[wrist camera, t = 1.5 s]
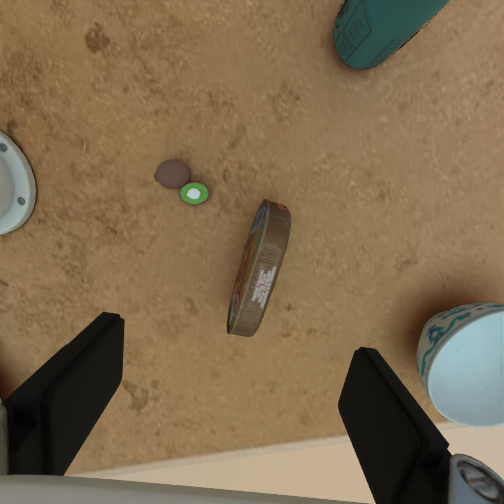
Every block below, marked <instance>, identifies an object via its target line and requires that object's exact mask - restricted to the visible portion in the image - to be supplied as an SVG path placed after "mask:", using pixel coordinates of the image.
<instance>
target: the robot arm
mask: <svg viewBox="0 0 504 504" xmlns="http://www.w3.org/2000/svg"><path fill="white" fill-rule="evenodd" d="M35 200H36V186H35V179H34V176H33V173H32V170H31V167H30V165H29V163H28V161H27V159H26V157H25V156H24V154H23V153H22V152H21V150H20V149H19V147H18V146H17V145H16V144H15V143H14V142H13V141H12V140H11V139H10V138H9V137H8V136H6V135H5V134H4V133H3V132H1V131H0V235H3V234H6V233H9V232H12V231H14V230H16V229H17V228H19V227H20V226H22V225H23V224H24V223H25V222H26V220H27V219H28V218H29V216H30V214H31V213H32V211H33V208H34V204H35ZM123 347H124V319H123V318H120V315H119V314H115V313H108V312H103V313H101V314H100V315H99V316H98V317H97V318H96V319H95V320H94V321H93V322H91V323H90V324H89V325H88V326H87V327H86V328H85V329H84V330H83V331H82V332H81V333H79V334H78V335H77V336H76V337H75V338H74V339H73V340H72V341H71V342H70V343H69V344H67V345H65V346H64V347H63V348H61V349H60V350H59V351H58V352H57V353H56V354H55V355H54V356H53V357H51V358H50V359H49V360H48V361H47V362H46V363H45V364H44V365H43V366H42V367H40V368H39V369H38V370H37V371H36V372H35V373H34V374H33V375H32V376H31V377H29V378H28V379H27V380H26V381H25V382H24V383H23V384H22V385H21V386H20V387H18V388H17V389H16V390H15V391H14V392H13V393H12V394H11V395H10V396H9V397H7V398H6V399H5V400H4V401H3V402H2V403H1V404H0V504H367V503H356V502H347V501H336V500H328V499H318V498H308V497H297V496H288V495H277V494H267V493H256V492H245V491H234V490H224V489H213V488H202V487H191V486H180V485H169V484H158V483H146V482H135V481H123V480H112V479H98V478H83V477H69V476H63V475H64V474H65V472H66V471H67V469H68V467H69V466H70V464H71V463H72V461H73V459H74V458H75V456H76V454H77V453H78V451H79V450H80V448H81V446H82V445H83V443H84V442H85V440H86V438H87V437H88V435H89V434H90V432H91V430H92V429H93V427H94V425H95V424H96V422H97V421H98V419H99V417H100V416H101V414H102V413H103V411H104V409H105V408H106V406H107V404H108V403H109V401H110V400H111V398H112V396H113V395H114V393H115V392H116V390H117V388H118V387H119V385H120V383H121V380H122V373H123ZM338 409H339V413H340V415H341V418H342V420H343V423H344V425H345V428H346V430H347V433H348V435H349V438H350V440H351V443H352V445H353V448H354V450H355V453H356V455H357V458H358V460H359V462H360V465H361V468H362V470H363V472H364V475H365V477H366V480H367V483H368V485H369V488H370V490H371V493H372V495H373V498H374V500H375V503H376V504H504V480H503V479H502V478H501V477H500V476H499V475H497V473H495V472H494V471H493V470H492V469H491V468H489V467H488V466H486V465H485V464H484V463H482V462H481V461H479V460H477V459H475V458H473V457H471V456H468V455H464V454H455V455H453V456H452V455H451V453H450V452H449V451H448V449H447V448H448V446H449V443H448V442H447V441H446V439H445V438H444V437H443V435H442V434H441V433H440V431H439V430H438V429H437V428H436V426H435V425H434V424H433V422H432V421H431V420H430V418H429V417H428V416H427V415H426V413H425V412H424V411H423V409H422V408H421V407H420V405H419V404H418V403H417V402H416V400H415V399H414V398H413V396H412V395H411V394H410V392H409V391H408V390H407V389H406V387H405V386H404V385H403V383H402V382H401V381H400V379H399V378H398V377H397V375H396V374H395V373H394V372H393V370H392V369H391V368H390V366H389V365H388V364H387V362H386V361H385V360H384V359H383V357H382V356H381V355H380V353H379V352H378V351H377V350H376V349H374V348H366V347H360V348H359V349H358V350H355V352H354V354H353V358H352V361H351V364H350V367H349V370H348V373H347V376H346V380H345V383H344V386H343V389H342V392H341V395H340V398H339V402H338Z"/></svg>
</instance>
